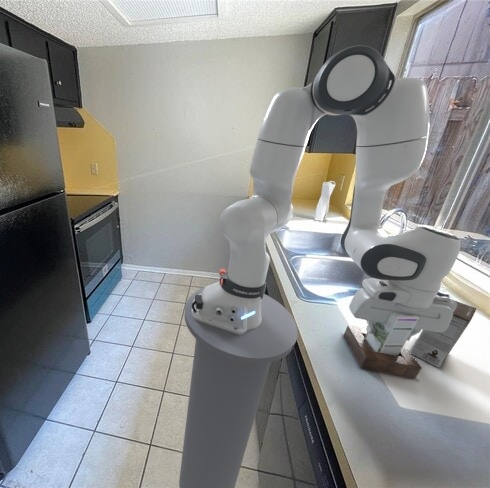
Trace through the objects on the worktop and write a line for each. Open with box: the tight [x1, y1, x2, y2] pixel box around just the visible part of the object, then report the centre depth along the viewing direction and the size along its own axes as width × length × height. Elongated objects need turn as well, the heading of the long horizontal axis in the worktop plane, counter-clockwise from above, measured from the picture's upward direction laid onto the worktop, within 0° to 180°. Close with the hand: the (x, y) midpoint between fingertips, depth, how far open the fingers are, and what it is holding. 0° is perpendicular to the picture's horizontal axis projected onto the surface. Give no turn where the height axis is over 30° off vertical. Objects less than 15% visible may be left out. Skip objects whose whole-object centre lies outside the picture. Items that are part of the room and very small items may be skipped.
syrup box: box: [365, 313, 419, 356], centre depth 67 cm, size 6×6×14 cm
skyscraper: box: [313, 180, 336, 223], centre depth 177 cm, size 8×8×28 cm
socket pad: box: [343, 324, 423, 380], centre depth 70 cm, size 12×12×4 cm
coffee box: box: [409, 299, 477, 369], centre depth 69 cm, size 9×6×16 cm
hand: (386, 335), depth 68 cm, fingers closed on syrup box, 6 cm apart
